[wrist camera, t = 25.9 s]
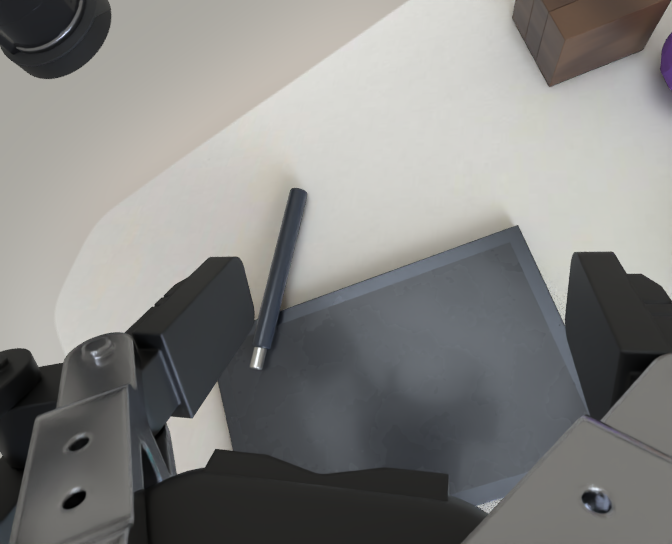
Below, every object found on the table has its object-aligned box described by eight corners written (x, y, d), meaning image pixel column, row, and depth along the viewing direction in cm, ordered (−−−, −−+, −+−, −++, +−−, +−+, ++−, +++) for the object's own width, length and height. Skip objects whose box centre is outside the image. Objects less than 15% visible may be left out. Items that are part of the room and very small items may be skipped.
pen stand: (549, 87, 36) (565, 40, 31) (511, 18, 38) (521, -36, 33) (643, 50, 35) (674, -5, 30) (599, -19, 37) (621, -80, 32)
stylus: (269, 371, 33) (311, 195, 38) (256, 368, 32) (301, 186, 36) (254, 369, 34) (296, 196, 38) (241, 365, 33) (286, 188, 37)
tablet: (263, 564, 32) (258, 569, 31) (212, 338, 37) (207, 336, 36) (623, 460, 29) (629, 461, 28) (516, 228, 34) (518, 224, 33)
